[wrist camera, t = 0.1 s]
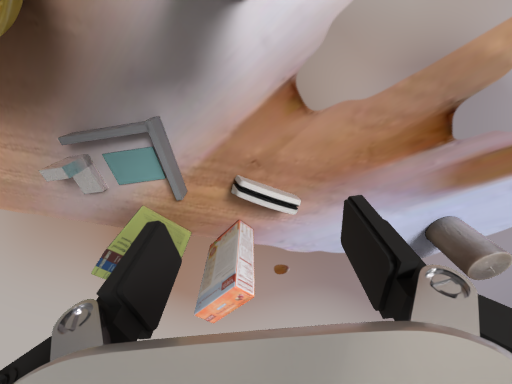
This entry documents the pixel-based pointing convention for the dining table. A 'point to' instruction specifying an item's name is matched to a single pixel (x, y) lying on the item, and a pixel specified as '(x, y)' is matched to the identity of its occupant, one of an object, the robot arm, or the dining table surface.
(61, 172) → the grey l-shaped block
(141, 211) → the protein box
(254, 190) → the white black slab
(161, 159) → the corner walls
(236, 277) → the cracker box
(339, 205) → the dining table surface
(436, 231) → the pillar candle
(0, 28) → the planter bowl
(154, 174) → the mat
